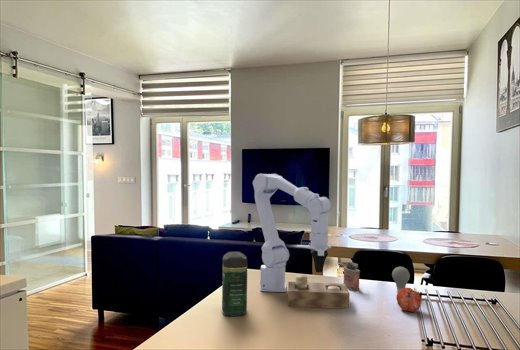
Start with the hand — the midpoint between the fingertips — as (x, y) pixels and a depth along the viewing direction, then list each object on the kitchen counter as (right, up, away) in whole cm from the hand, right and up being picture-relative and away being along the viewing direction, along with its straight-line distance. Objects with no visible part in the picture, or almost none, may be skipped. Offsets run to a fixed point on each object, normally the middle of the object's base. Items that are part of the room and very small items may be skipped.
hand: (318, 271), depth 121 cm
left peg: (-6, -7, 0) cm, 9 cm away
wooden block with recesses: (0, -10, 0) cm, 10 cm away
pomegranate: (+28, -11, -7) cm, 31 cm away
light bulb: (+31, -11, +8) cm, 34 cm away
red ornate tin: (+15, -10, +15) cm, 23 cm away
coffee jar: (-28, -10, -9) cm, 31 cm away
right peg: (+5, -10, -1) cm, 11 cm away
